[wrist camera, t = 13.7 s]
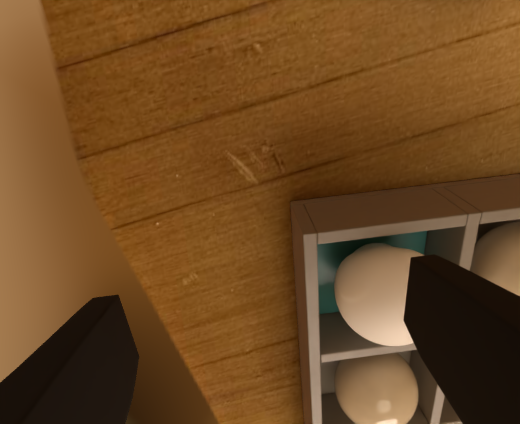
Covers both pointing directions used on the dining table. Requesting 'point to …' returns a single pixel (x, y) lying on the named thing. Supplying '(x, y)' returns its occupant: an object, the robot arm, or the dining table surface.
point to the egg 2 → (499, 256)
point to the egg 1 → (376, 389)
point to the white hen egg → (375, 292)
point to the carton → (396, 235)
